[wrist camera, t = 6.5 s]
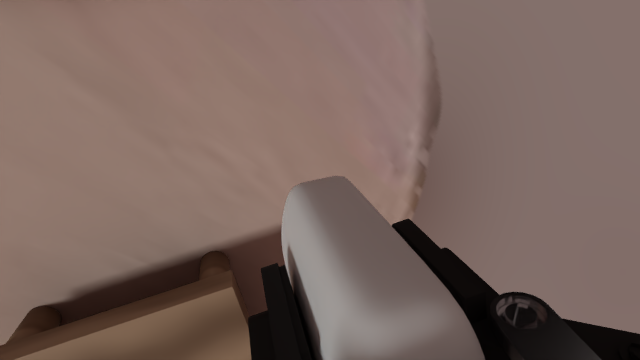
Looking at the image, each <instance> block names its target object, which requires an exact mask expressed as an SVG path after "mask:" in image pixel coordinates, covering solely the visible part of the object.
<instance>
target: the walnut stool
mask: <svg viewBox="0 0 640 360" xmlns="http://www.w3.org/2000/svg"><path fill="white" fill-rule="evenodd" d="M248 317H250V316H249V313H248V311H247V308H246V306H245V303H244V300H243V298H242V295H241V293H240V290H239V287H238V285H237V282H236V280H235V277H234V274H233V272H232V270H230V262H229V258H228V256H227V255H226V254H224V253H222V252H219V251H212V252H209V253H207V254H206V255H204V256H203V258H202V260H201V263H200V272H199V281H196V282H193V283H190V284H187V285H184V286H181V287H178V288H175V289H172V290H169V291H166V292H163V293H160V294H157V295H154V296H151V297H148V298H145V299H142V300H138V301H135V302H132V303H129V304H126V305H123V306H120V307H117V308H114V309H111V310H108V311H105V312H102V313H99V314H96V315H93V316H90V317H87V318H84V319H80V320H77V321H74V322H71V323H68V324H65V325H62V326H59V324H60V322H61V316H60V314H59V312H58V311H56V310H55V309H53V308H51V307H46V306H41V307H36V308H34V309H32V310H31V311H29V313H28V314H27V315H26V317H25V318H24V319H23V321H22V322H21V323H20V325H19V326H18V328H17V329H16V330H15V332H14V333H13V334H12V336H11V337H10V339H9V340H8V341H7V343H6V344H4V345H1V346H0V360H251V349H250V338H249V328H248ZM58 326H59V327H58Z"/></svg>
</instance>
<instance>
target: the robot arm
mask: <svg viewBox="0 0 640 360" xmlns="http://www.w3.org/2000/svg"><path fill="white" fill-rule="evenodd" d="M392 227H393V228H394V229H395V231H396V232H397V233H398V234H399V235H400V236H401V237H402V238H403V239H404V240H405V242H406V243H407V244H408V245H409V246H410V247H411V248H412V249H413V250H414V251H415V253H416V254H417V255H418V256H419V257H420V258H421V259H422V260H423V261H424V263H425V264H426V265H427V266H428V267H429V268H430V270H431V271H432V272H433V273H434V274H435V275H436V276H437V278H438V279H439V280H440V281H441V282H442V283H443V285H444V286H445V287H446V288H447V289H448V290H449V292H450V293H451V295H452V296H453V297H454V299H455V300H456V302H457V303H458V304H459V306H460V307H461V309H462V310H463V311H464V313H465V315H466V317H467V319H468V320H469V322H470V324H471V326H472V328H473V330H474V332H475V334H476V336H477V338H478V341H479V343H480V346H481V348H482V351H483V354H484V357H485V360H640V334H637V333H632V332H627V331H622V330H616V329H612V328H607V327H601V326H596V325H592V324H587V323H582V322H577V321H572V320H566V319H562V318H561V317H560V316H559V315H558V314H556V312H555V311H554V310H553V309H552V308H551V307H550V306H549V305H548V304H547V303H545V302H544V301H543V300H541V299H540V298H538V297H536V296H534V295H531V294H527V293H523V292H508V293H503V294H501V295H499V294H498V293H497V292H496V291H495V290H493V289H492V288H491V287H490V286H489V285H488V284H487V283H486V282H485V281H483V280H482V279H481V278H480V277H479V276H478V275H477V274H476V273H475V272H474V271H473V270H471V269H470V268H469V267H468V266H467V265H466V264H465V263H464V262H463V261H462V260H460V259H459V258H458V257H457V256H456V255H455V254H454V253H453V252H452V251H451V250H449V249H448V248H442V249H440V248H439V247H438V246H437V245H436V244H435V243H434V242H433V241H432V240H431V239H430V238H429V237H428V236H427V235H426V234H425V233H424V232H422V231H421V230H420V229H419V228H418V227H417V226H416V225H415V224H414V223H413V222H412V221H411V220H410V219H406V220H403V221H400V222H397V223H394V224H393V225H392ZM261 273H262V279H263V285H264V291H265V297H266V303H267V308H268V311H265V312H262V313H259V314H256V315H253V316H251V317H248V328H249V338H250V349H251V360H313V358H312V355H311V351H310V348H309V344H308V341H307V337H306V334H305V330H304V327H303V323H302V320H301V316H300V313H299V309H298V306H297V302H296V299H295V295H294V292H293V289H292V286H291V283H290V280H289V276H288V273H287V270H286V267H285V265H284V266H281V267H279V266H278V264H277V263H275V264H272V265H269V266H266V267H263V268H261Z"/></svg>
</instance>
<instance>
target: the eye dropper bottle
mask: <svg viewBox="0 0 640 360" xmlns="http://www.w3.org/2000/svg"><path fill="white" fill-rule="evenodd" d="M281 240H282V250H283V257H284V261H285V265H286V269H287V272H288V276H289V279H290V283H291V286H292V289H293V292H294V295H295V299H296V302H297V306H298V309H299V313H300V316H301V320H302V323H303V327H304V330H305V334H306V337H307V341H308V344H309V348H310V351H311V355H312V358H313V360H485V357H484V354H483V351H482V348H481V346H480V343H479V341H478V338H477V336H476V334H475V332H474V330H473V328H472V326H471V324H470V322H469V320H468V319H467V317H466V315H465V313H464V311H463V310H462V309H461V307H460V306H459V304H458V303H457V302H456V300H455V299H454V297H453V296H452V295H451V293H450V292H449V290H448V289H447V288H446V287H445V286H444V285H443V283H442V282H441V281H440V280H439V279H438V278H437V276H436V275H435V274H434V273H433V272H432V271H431V270H430V268H429V267H428V266H427V265H426V264H425V263H424V261H423V260H422V259H421V258H420V257H419V256H418V255H417V254H416V253H415V251H414V250H413V249H412V248H411V247H410V246H409V245H408V244H407V243H406V242H405V240H404V239H403V238H402V237H401V236H400V235H399V234H398V233H397V232H396V231H395V229H394V228H393V227H392V226H391V225H390V224H389V223H388V222H387V221H386V220H385V218H384V217H383V216H382V215H381V214H380V213H379V212H378V211H377V210H376V209H375V208H374V206H373V205H372V204H371V203H370V202H369V201H368V200H367V199H366V198H365V197H364V196H363V194H362V193H361V192H360V191H359V190H358V189H357V188H356V187H355V186H354V185H353V184H352V183H351V182H350V181H349V180H348V179H346V178H345V177H342V176H333V177H327V178H322V179H317V180H312V181H308V182H304V183H300V184H298V185H296V186H294V187H293V188H292V190H291V191H290V192H289V194H288V197H287V200H286V203H285V208H284V213H283V219H282V230H281Z"/></svg>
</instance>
